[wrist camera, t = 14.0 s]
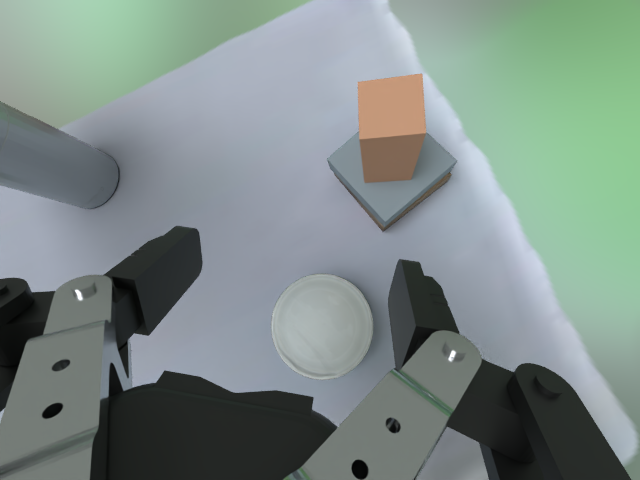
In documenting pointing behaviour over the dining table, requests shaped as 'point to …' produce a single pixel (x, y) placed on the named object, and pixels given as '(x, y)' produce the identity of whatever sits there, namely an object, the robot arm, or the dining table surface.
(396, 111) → the terracotta block
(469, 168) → the dining table surface
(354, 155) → the slate top slab
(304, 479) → the robot arm
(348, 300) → the ramekin
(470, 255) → the dining table surface
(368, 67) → the dining table surface
